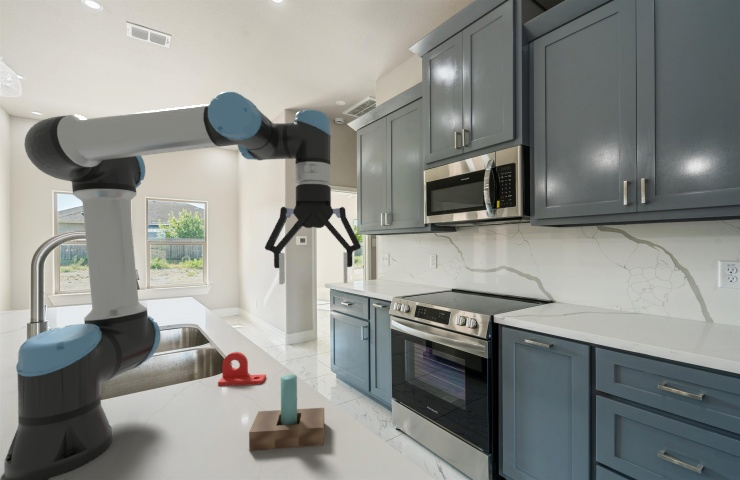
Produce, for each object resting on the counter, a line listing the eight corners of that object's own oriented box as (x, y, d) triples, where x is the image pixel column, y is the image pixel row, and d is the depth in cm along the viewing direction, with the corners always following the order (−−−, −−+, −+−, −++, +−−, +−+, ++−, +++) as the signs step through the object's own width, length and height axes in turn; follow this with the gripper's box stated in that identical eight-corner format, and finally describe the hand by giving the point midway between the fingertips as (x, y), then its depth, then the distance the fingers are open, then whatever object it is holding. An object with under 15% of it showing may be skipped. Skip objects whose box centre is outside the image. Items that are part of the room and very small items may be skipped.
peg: (279, 441, 69) (279, 381, 69) (282, 432, 72) (282, 374, 72) (296, 440, 69) (295, 380, 69) (298, 431, 72) (297, 374, 72)
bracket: (218, 386, 95) (217, 357, 95) (224, 379, 100) (223, 352, 100) (262, 384, 96) (261, 356, 96) (266, 378, 101) (265, 351, 101)
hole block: (249, 450, 66) (249, 432, 66) (258, 427, 74) (258, 411, 74) (323, 445, 67) (323, 427, 67) (324, 423, 75) (324, 407, 75)
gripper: (249, 181, 70) (250, 286, 70) (372, 182, 73) (373, 283, 73) (258, 187, 77) (258, 281, 78) (368, 188, 80) (369, 279, 80)
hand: (314, 283), depth 75 cm, fingers open, 13 cm apart
